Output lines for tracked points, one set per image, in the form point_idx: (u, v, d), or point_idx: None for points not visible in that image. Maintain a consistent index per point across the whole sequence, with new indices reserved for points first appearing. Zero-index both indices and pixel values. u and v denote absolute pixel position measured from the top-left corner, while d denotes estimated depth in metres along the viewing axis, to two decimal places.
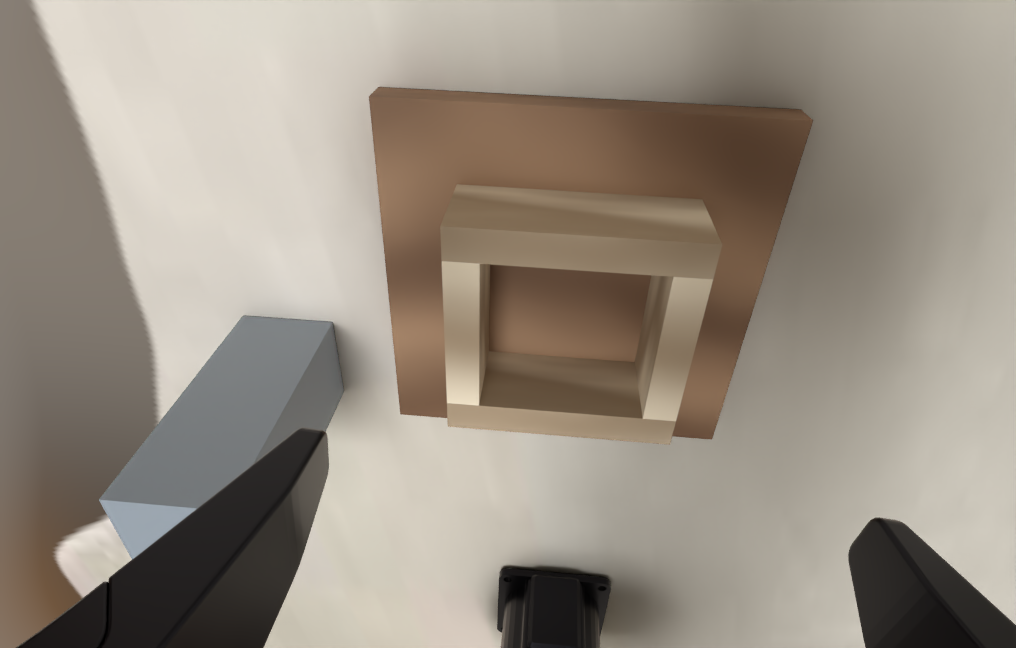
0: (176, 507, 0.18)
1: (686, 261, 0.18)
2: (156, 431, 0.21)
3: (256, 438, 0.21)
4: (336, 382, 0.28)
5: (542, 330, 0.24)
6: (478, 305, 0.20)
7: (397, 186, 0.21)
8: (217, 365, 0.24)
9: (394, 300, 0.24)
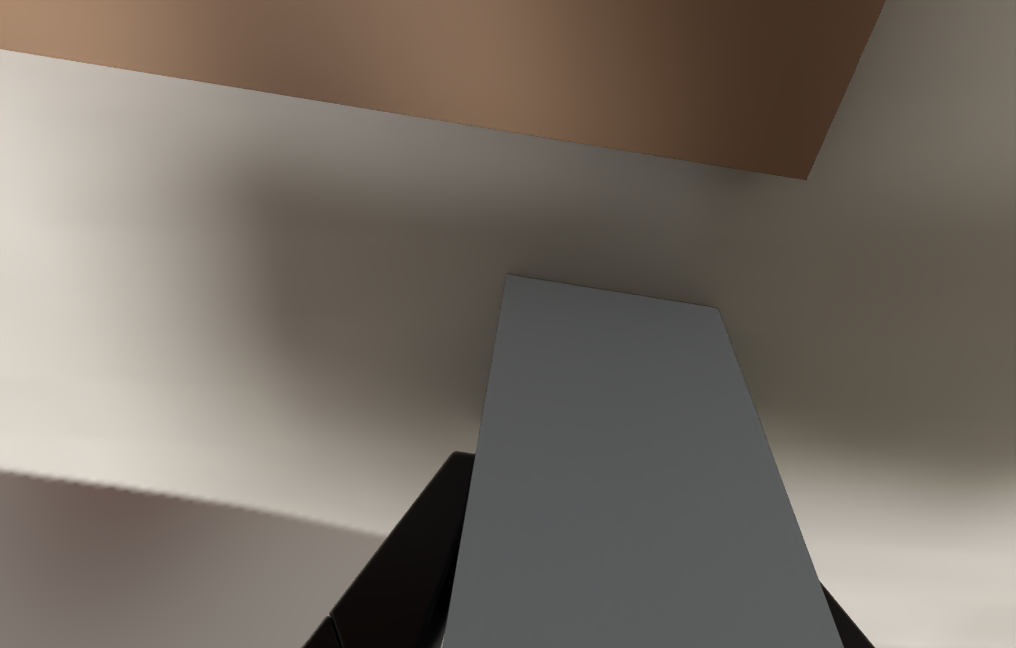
0: None
1: None
2: None
3: None
4: (664, 318, 0.11)
5: None
6: None
7: None
8: None
9: (373, 94, 0.08)
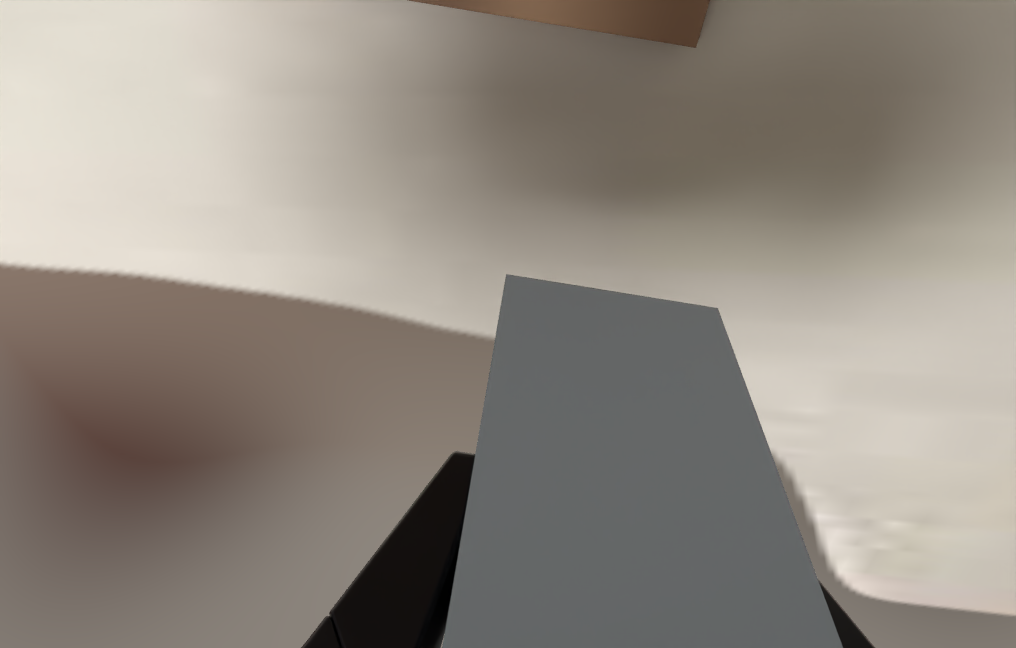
0: None
1: None
2: None
3: None
4: (663, 318, 0.11)
5: None
6: None
7: None
8: None
9: (471, 1, 0.16)
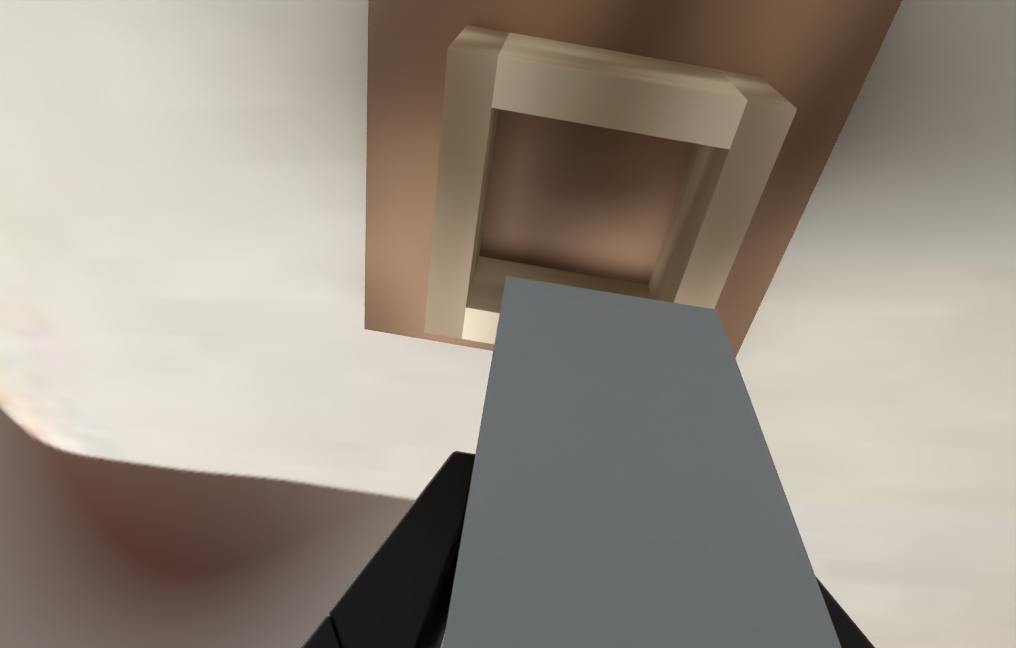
0: None
1: (470, 92, 0.15)
2: None
3: None
4: (663, 320, 0.11)
5: (628, 223, 0.20)
6: None
7: None
8: None
9: None
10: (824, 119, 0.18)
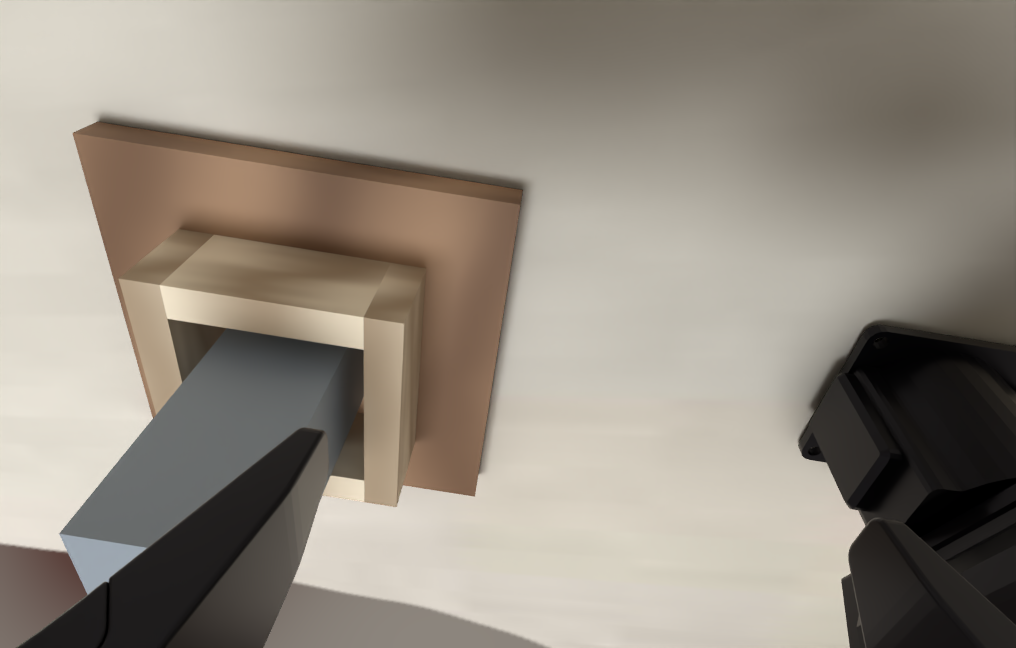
0: (80, 574, 0.14)
1: (146, 308, 0.18)
2: None
3: (140, 447, 0.16)
4: None
5: None
6: None
7: None
8: None
9: None
10: (487, 298, 0.21)
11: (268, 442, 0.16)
